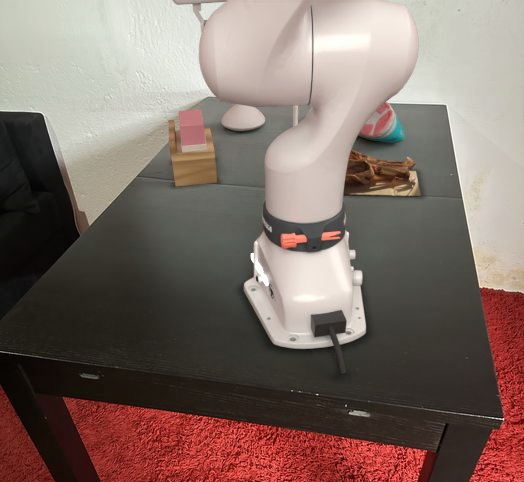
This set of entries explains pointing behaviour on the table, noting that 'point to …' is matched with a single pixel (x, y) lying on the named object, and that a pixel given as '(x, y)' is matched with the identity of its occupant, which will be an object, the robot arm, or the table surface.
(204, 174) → the brown boxy piece
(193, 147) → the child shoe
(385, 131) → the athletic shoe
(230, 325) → the table surface
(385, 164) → the driftwood on gold plate
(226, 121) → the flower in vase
